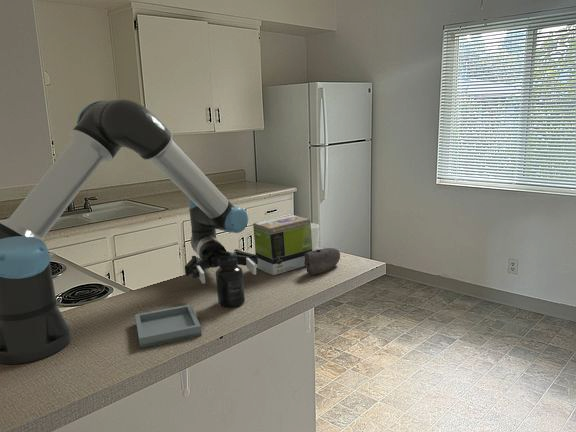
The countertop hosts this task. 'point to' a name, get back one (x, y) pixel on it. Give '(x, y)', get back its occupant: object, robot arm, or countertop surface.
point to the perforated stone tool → (321, 260)
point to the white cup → (315, 236)
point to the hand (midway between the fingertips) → (229, 273)
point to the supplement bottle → (229, 282)
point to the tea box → (282, 243)
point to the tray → (167, 326)
